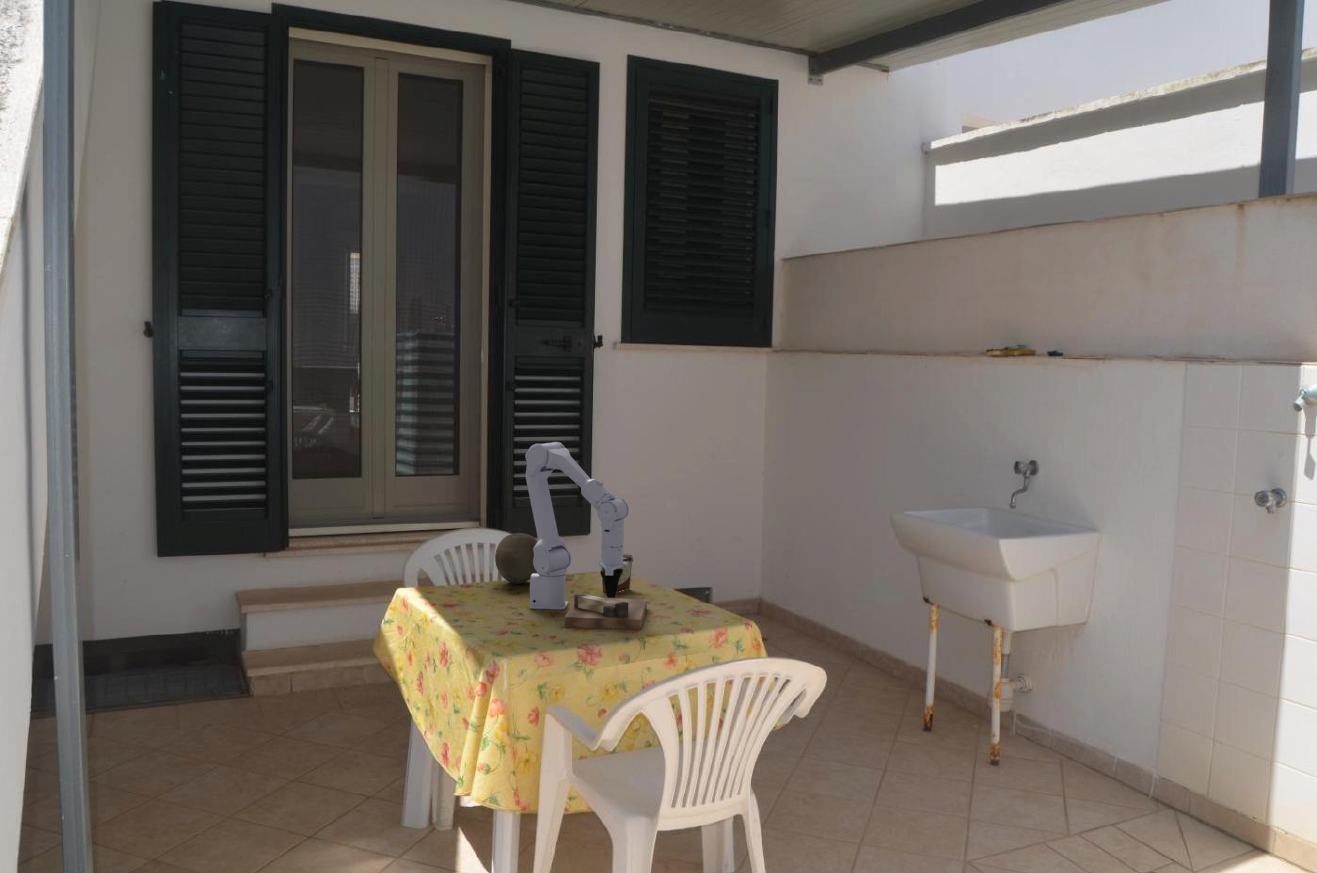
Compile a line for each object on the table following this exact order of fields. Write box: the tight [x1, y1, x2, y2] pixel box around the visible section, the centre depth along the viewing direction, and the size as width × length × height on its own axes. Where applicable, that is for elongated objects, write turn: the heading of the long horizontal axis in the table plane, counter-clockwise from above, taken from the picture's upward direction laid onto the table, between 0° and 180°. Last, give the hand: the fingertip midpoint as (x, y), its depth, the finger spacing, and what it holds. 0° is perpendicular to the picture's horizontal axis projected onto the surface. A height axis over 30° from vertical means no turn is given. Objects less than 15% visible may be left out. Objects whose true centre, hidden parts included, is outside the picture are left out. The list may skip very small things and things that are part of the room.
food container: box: [598, 553, 634, 595], centre depth 306 cm, size 12×6×10 cm, turn 144°
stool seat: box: [564, 597, 648, 630], centre depth 275 cm, size 19×22×5 cm
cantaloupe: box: [494, 532, 538, 585], centre depth 312 cm, size 14×14×15 cm
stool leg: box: [573, 593, 628, 618], centre depth 271 cm, size 17×3×3 cm, turn 51°
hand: (611, 597), depth 276 cm, fingers closed
